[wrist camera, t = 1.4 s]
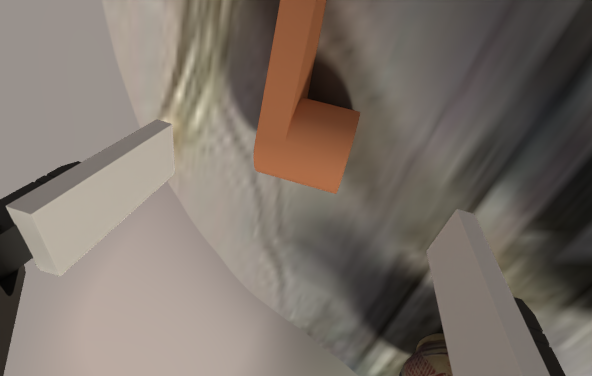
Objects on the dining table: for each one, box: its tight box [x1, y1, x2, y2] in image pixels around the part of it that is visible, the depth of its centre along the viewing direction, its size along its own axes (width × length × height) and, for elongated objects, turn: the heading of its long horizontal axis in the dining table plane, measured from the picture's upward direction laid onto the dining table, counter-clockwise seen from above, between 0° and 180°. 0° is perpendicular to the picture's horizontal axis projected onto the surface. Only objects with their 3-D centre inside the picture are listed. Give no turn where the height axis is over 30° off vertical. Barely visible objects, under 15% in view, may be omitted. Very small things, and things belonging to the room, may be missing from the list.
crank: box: [254, 0, 360, 194], centre depth 24 cm, size 20×8×8 cm, turn 171°
